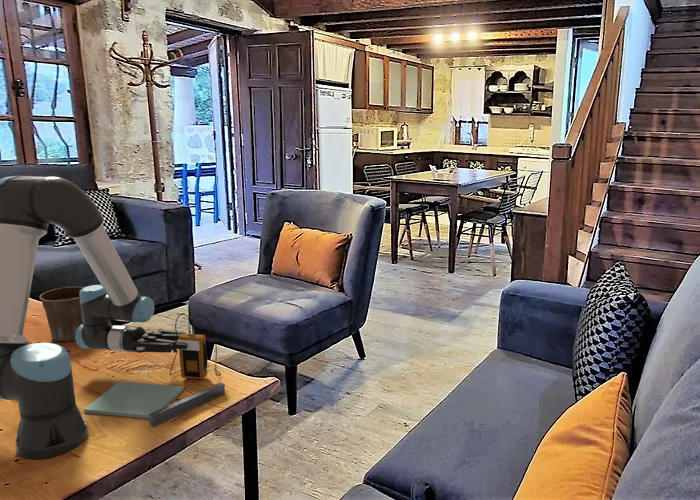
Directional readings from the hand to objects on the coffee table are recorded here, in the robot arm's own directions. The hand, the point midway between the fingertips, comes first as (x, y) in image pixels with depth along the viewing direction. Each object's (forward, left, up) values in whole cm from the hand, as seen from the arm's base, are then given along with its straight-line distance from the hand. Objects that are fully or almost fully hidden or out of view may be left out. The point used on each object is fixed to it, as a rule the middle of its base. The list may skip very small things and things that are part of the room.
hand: (201, 343), depth 159 cm
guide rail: (-16, -4, -11) cm, 20 cm away
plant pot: (+24, +62, -12) cm, 67 cm away
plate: (-15, +13, -11) cm, 23 cm away
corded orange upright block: (+4, +3, -11) cm, 12 cm away
